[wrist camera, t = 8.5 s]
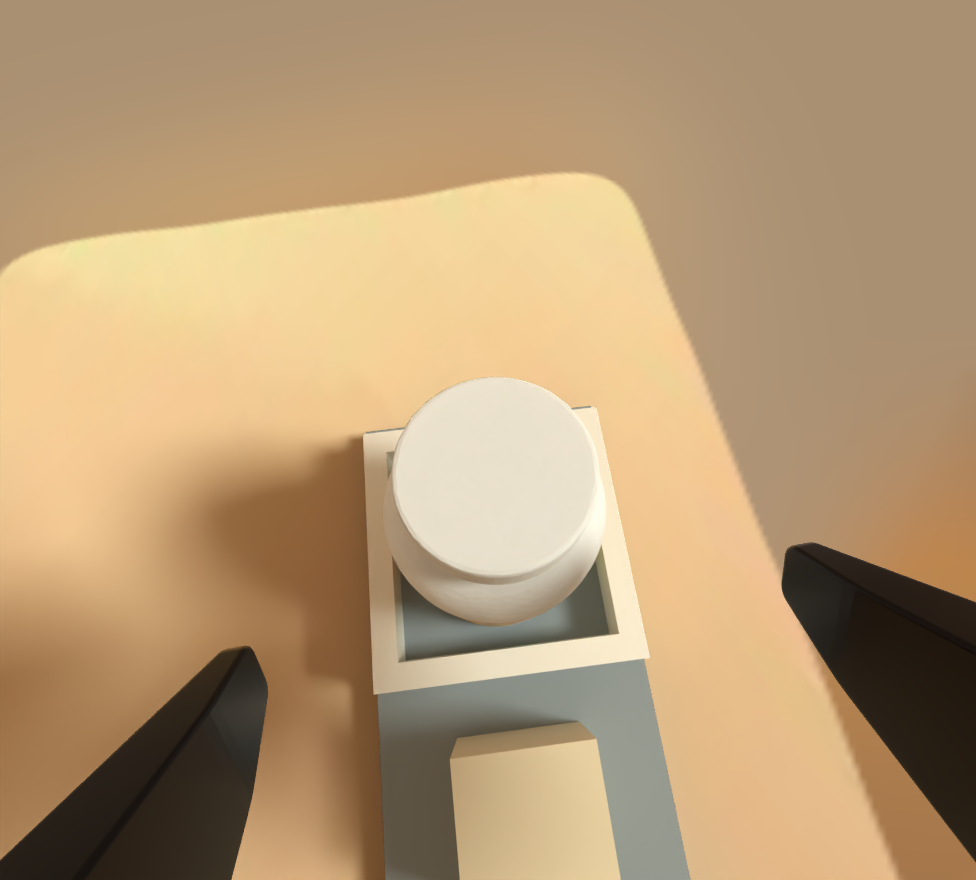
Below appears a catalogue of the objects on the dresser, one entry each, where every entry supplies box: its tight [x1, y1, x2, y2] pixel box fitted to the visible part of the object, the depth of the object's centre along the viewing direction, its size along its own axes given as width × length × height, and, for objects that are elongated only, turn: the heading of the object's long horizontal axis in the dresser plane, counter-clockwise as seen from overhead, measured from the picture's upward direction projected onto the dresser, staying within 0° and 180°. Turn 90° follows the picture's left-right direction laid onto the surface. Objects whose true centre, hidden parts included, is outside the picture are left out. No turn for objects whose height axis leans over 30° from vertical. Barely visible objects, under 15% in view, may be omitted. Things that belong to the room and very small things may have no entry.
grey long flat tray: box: [363, 406, 690, 880], centre depth 16 cm, size 22×9×4 cm, turn 7°
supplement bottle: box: [383, 377, 606, 626], centre depth 14 cm, size 5×5×10 cm
